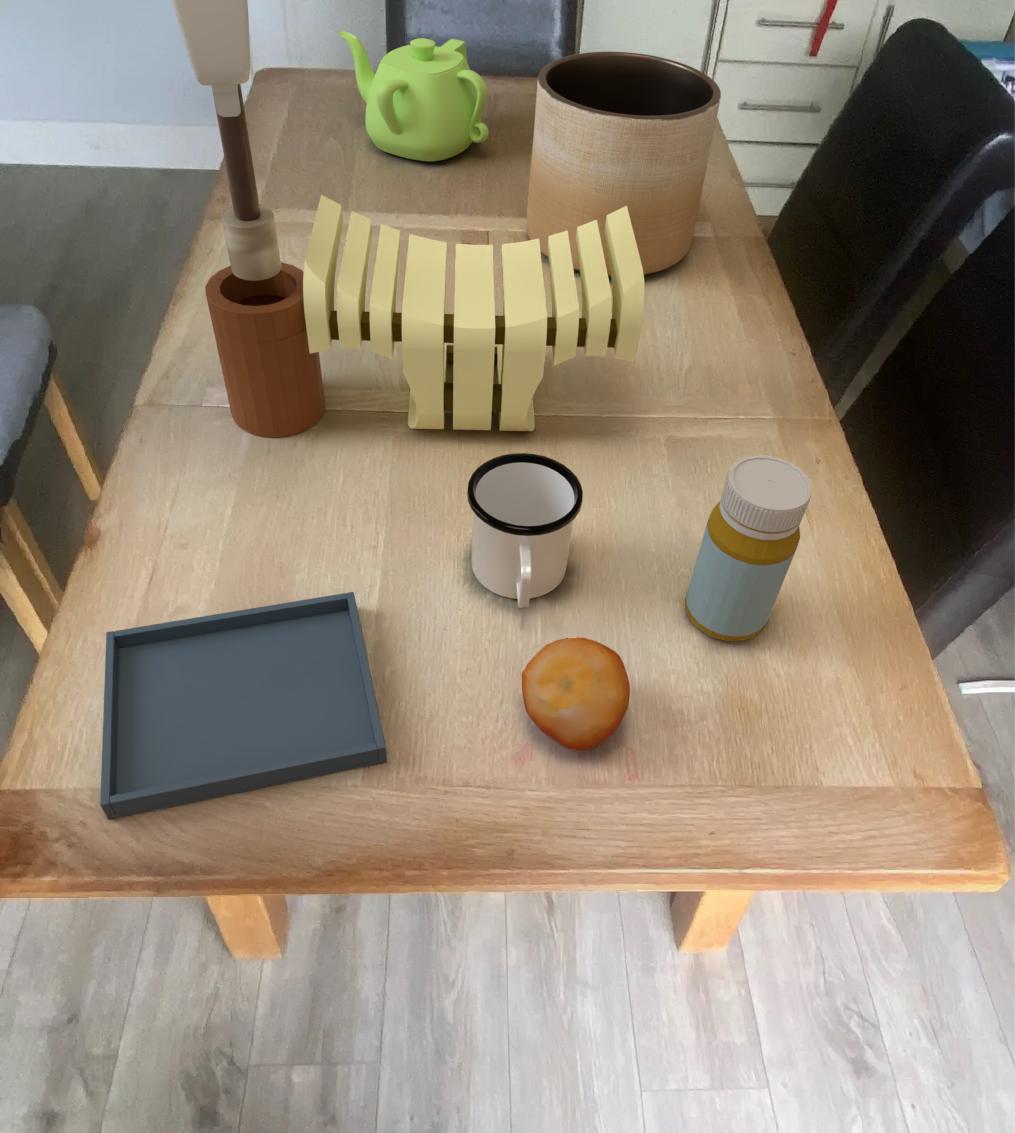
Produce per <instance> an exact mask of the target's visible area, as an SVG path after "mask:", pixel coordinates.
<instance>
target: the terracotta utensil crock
mask: <svg viewBox="0 0 1015 1133" xmlns="http://www.w3.org/2000/svg"><path fill="white" fill-rule="evenodd" d="M303 273H304V270H302V269H301V268H299V267H297V266H295V265H293V264H290V263H286V262H282V261H281V270H280V272H279V273H278V274H277V275H275V276H273V277H271V278H268V279H265V280H257V281H251V280H244V279H241V278H238V277H237V276H235V275H234V274H233V272H232V270H231V265H229V266H226V267H223V268H222V269H220V270H218V271H217V272H216V273H215V274H213V275H212V276H210V277H209V279H208V281H207V282H206V284H205V287H204V289H205V297H206V302H207V306H208V311H209V316H210V320H211V326H212V329H213V334H214V339H215V343H216V348H217V354H218V357H219V363H220V367H221V370H222V372H221V373H222V377H223V381H224V386H225V390H226V395H227V400H228V405H229V409H230V413H231V417H232V419H233V422H234V423H235V424H236V425H237V426H238V427H239V428H240V429H241V430H243V431H244V432H246V433H248V434H251V435H253V436H258V437H263V438H285V437H291V436H295V435H297V434H298V435H299V434H301V433H303V432H305V431H307V430H310V428H313V426H315V425H316V424H317V423H318V422H319V421H320V420H321V419H322V417H323V415H324V413H325V409H326V404H325V403H326V400H325V392H324V383H323V375H322V367H321V358H320V352H316V353H311V354H310V352H309V345H308V337H307V329H306V321H305V313H304V299H303Z"/></svg>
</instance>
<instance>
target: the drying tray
mask: <svg viewBox="0 0 1015 1133" xmlns="http://www.w3.org/2000/svg"><path fill="white" fill-rule="evenodd" d="M104 659H105V662H104V684H103V686H104V687H103V688H104V689H103V690H104V691H103V713H102V714H103V717H102V722H103V723H102V739H101V740H102V741H101V742H102V743H101V744H102V746H101V768H100V772H101V773H100V796H99V806H100V807H101V809H102V811H103V813H104V815H105V817H106V818H107V820H112V819H117V818H122V817H126V816H132V815H137V814H141V813H145V812H151V811H155V810H160V809H161V810H162V809H166V808H171V807H174V806H180V805H184V804H190V803H194V802H199V801H204V800H208V799H214V798H219V797H224V796H228V795H234V794H238V793H242V792H248V791H253V790H258V789H263V788H269V787H271V786H272V787H273V786H277V785H281V784H287V783H290V782H291V783H292V782H297V781H301V780H306V779H311V778H315V777H316V778H317V777H320V776H326V775H331V774H335V773H336V774H337V773H340V772H344V771H350V770H354V769H359V768H365V767H369V766H373V765H374V766H375V765H379V764H383V763H384V764H385V763H387V762H388V760H387V759H388V758H387V746H386V742H385V737H384V734H383V733H384V732H383V729H382V723H381V719H380V714H379V709H378V705H377V699H376V695H375V689H374V684H373V680H372V674H371V670H370V665H369V660H368V655H367V651H366V644H365V640H364V636H363V631H362V625H361V621H360V616H359V612H358V607H357V602H356V596H355V592H354V591H349V592H344V593H338V594H332V595H325V596H319V597H313V598H307V599H301V600H295V601H289V602H288V601H287V602H283V603H276V604H271V605H263V606H258V607H252V608H246V609H242V610H241V609H240V610H233V611H228V612H222V613H215V614H210V615H203V616H197V617H191V618H186V619H185V618H184V619H178V620H173V621H167V622H161V623H155V624H149V625H143V626H136V627H131V628H125V629H118V630H115V631H114V630H112V631H107V632H106V633H105V658H104Z"/></svg>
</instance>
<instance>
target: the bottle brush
mask: <svg viewBox="0 0 1015 1133" xmlns="http://www.w3.org/2000/svg"><path fill="white" fill-rule="evenodd" d="M211 91H212V97H213V102H214V109H215V114H216V119H217V123H218V124H217V125H218V130H219V136H220V142H221V147H222V153H223V158H224V163H225V169H226V170H225V171H226V175H227V180H228V186H229V192H230V197H231V204H232V206H231V207H229V208H227V209H225V210H224V211H223V212H222V214H221V222H222V226H223V232H224V237H225V242H226V248H227V253H228V259H229V264H230V265H229V266H231V270H232V272H233V274H234V275H235V276H237V277H238V278H241V279H244V280H251V281H257V280H265V279H268V278H271V277H273V276H275V275H277V274H278V273H279V272H280V270H281V262H282V261H281V254H280V248H279V247H280V246H279V242H278V240H279V239H278V233H277V227H276V220H275V214H274V212H273V210H272V209H271V208H270V207H268V206H266V205H262V204H260V201H259V195H258V186H257V182H256V174H255V169H254V163H253V162H254V161H253V155H252V149H251V144H250V143H251V142H250V136H249V130H248V124H247V118H246V111H245V105H244V96H243V93H242V92H243V90H242V84H238V95H239V101H240V108H241V112H240V114H239V115H238V116H235V117H222V116H220V115H219V114H218V113H217V109H216V104H215V98H214V93H213V90H212V89H211Z"/></svg>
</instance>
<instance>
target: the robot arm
mask: <svg viewBox="0 0 1015 1133" xmlns="http://www.w3.org/2000/svg"><path fill="white" fill-rule="evenodd" d="M248 1H249V0H171V2H172V6H173V9H174V13H175V18H176V20H177V24H178V27H179V30H180V33H181V37H182V41H183V44H184V47H185V52H186V54H187V57H188V61H189V64H190V67H191V69H192V72H193V75H194V77H195V79H196V81H197V82H198V83H199V84H200V85H202V86H211V91H212V90H213V91H212V94H213V93H214V97H213V99H214V98H215V103H214V105H215V104H216V108H215V110H216V109H217V113H218V114H219V115H220V116H222V117H235V116H238V115H239V114H240V112H241V108H240V101H239V95H238V84H241V85H242V84H246V83H248V81H249V80H250V74H251V43H250V24H249V5H248V4H249V2H248Z"/></svg>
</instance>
